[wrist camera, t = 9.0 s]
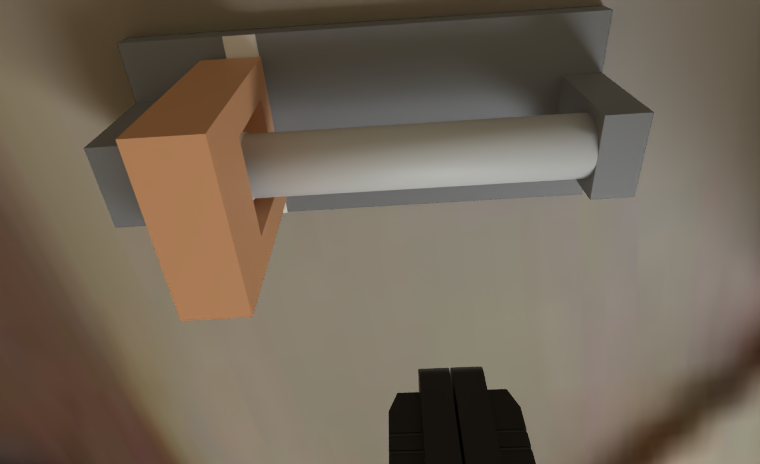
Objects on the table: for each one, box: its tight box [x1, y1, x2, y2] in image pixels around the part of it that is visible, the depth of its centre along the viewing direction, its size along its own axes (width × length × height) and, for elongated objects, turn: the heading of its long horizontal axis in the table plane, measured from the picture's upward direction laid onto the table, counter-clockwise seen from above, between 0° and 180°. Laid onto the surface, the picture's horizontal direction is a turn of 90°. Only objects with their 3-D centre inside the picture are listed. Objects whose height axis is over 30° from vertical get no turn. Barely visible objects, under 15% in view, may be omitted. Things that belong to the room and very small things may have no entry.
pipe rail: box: [84, 6, 654, 228], centre depth 26 cm, size 24×10×7 cm, turn 94°
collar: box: [115, 57, 287, 321], centre depth 23 cm, size 3×8×10 cm, turn 4°
